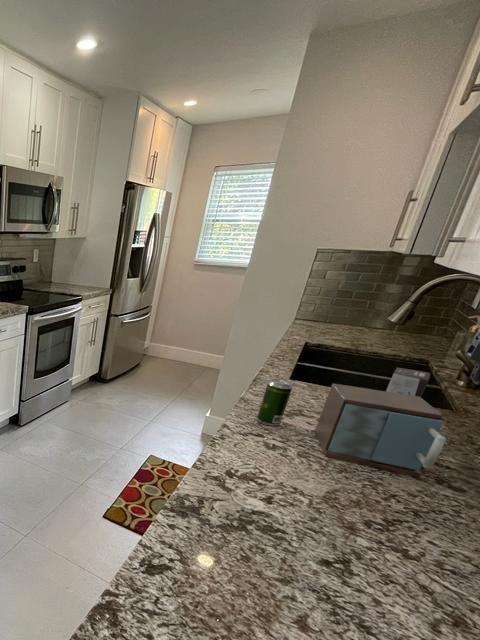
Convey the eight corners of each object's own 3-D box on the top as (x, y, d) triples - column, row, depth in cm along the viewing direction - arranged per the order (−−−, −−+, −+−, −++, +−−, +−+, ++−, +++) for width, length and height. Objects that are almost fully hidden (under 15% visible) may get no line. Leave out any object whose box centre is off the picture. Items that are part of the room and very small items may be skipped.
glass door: (418, 469, 89) (442, 420, 85) (430, 483, 84) (456, 432, 80) (369, 458, 93) (390, 411, 88) (378, 471, 88) (400, 422, 83)
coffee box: (402, 438, 105) (428, 380, 100) (368, 429, 110) (392, 372, 104) (406, 428, 111) (432, 372, 105) (374, 420, 115) (397, 366, 110)
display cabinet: (396, 449, 100) (420, 396, 95) (418, 477, 89) (447, 419, 84) (314, 432, 107) (332, 383, 102) (325, 456, 96) (346, 402, 91)
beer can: (284, 425, 111) (298, 384, 107) (269, 427, 110) (282, 386, 105) (266, 417, 116) (279, 377, 111) (251, 418, 114) (263, 378, 110)
